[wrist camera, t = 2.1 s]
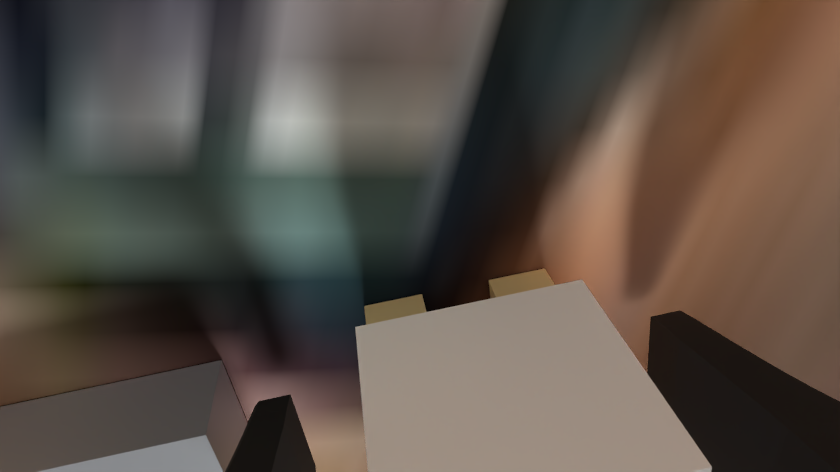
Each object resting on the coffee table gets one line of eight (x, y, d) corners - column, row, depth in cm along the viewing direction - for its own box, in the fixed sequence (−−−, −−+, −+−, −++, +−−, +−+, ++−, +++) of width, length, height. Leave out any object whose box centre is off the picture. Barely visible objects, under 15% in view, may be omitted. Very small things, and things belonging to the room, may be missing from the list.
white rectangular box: (547, 230, 12) (711, 467, 7) (556, 408, 15) (681, 675, 10) (350, 270, 12) (374, 544, 7) (393, 444, 14) (433, 737, 9)
